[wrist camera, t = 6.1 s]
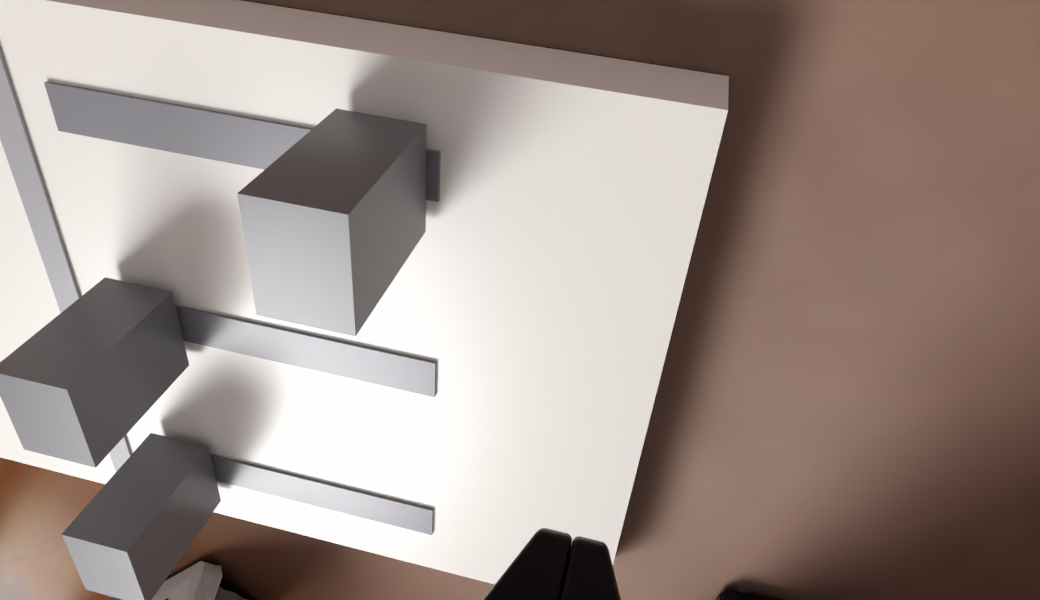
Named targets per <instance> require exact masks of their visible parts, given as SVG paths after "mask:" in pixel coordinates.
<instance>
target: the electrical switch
mask: <svg viewBox="0 0 1040 600" xmlns="http://www.w3.org/2000/svg"><path fill="white" fill-rule="evenodd" d="M221 579H222V568H221V566H218V565H214V564H210V563H206V562H203V561H200V562H198V563H196V564H194V565H193V566H191V567H189V568H187V569H186V570H184V571H182V572H180V573H178V574H177V575H175V576H173V577H171V578H170V579H168V580H166V581H164V583H163V584H162V586H161V587H160V588H159V590H158V591H157V593H156V594H155V596H154V597H153V598H152V600H247V599H244V598H243V597H241V596H239V595H238V594H236V593H234V592H231V591H227V590H223V589H222V588H221V587H219V585H220V582H221Z"/></svg>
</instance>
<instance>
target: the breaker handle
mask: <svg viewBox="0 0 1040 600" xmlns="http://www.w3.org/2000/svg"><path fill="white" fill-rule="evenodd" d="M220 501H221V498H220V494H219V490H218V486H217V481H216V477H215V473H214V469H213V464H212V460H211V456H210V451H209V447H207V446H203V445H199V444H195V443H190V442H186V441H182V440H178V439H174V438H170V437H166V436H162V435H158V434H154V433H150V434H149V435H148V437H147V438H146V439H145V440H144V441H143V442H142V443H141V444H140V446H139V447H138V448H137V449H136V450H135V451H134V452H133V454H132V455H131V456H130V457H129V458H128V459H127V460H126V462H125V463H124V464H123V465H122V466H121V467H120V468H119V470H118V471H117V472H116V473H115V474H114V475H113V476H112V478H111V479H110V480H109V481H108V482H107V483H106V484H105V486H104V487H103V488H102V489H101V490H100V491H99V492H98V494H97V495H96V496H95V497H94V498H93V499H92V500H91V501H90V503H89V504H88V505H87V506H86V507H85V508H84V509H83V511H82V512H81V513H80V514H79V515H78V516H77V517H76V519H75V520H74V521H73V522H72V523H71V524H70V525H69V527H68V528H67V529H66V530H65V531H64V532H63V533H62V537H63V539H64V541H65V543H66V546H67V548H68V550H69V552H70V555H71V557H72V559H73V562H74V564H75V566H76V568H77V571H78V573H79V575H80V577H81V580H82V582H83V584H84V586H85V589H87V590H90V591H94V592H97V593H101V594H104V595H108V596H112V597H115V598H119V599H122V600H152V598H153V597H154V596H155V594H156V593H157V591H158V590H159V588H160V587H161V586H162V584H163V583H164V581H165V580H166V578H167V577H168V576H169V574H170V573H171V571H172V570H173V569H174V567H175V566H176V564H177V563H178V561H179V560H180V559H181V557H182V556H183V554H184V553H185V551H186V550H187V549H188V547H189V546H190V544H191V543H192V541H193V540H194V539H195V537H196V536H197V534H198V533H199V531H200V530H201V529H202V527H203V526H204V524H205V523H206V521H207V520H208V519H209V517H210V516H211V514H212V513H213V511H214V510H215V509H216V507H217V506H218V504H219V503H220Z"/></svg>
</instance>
